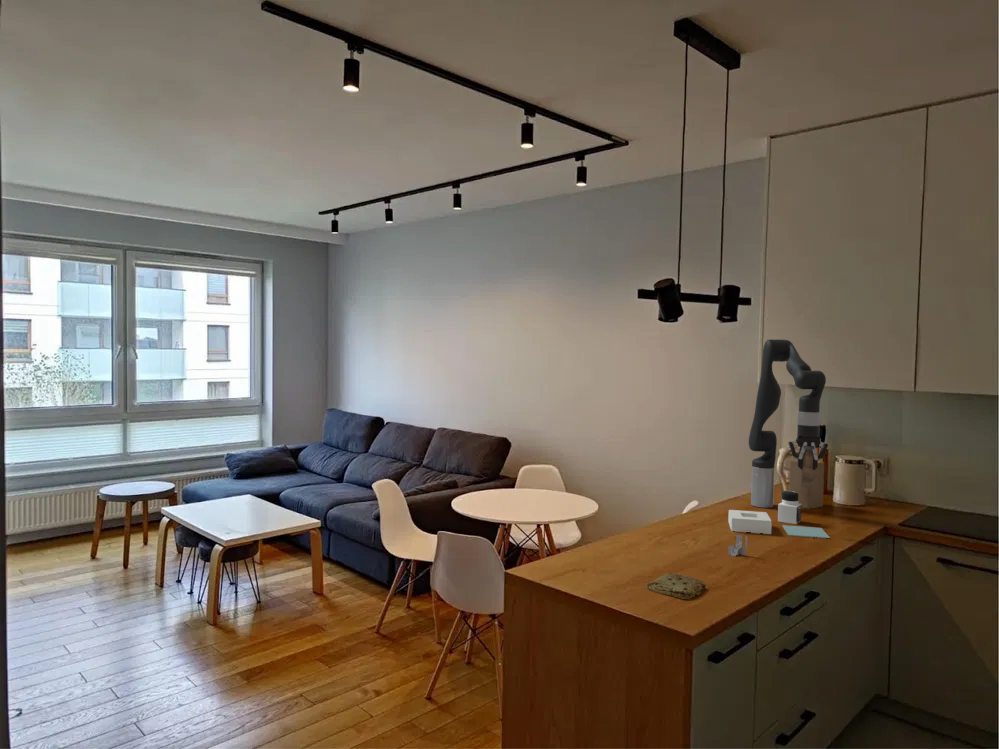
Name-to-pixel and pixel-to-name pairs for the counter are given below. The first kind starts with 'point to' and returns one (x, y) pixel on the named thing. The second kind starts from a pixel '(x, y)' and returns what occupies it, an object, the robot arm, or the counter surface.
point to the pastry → (677, 585)
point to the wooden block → (807, 495)
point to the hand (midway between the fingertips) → (807, 469)
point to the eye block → (749, 521)
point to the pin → (807, 467)
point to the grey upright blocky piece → (738, 547)
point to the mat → (805, 531)
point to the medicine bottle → (789, 508)
